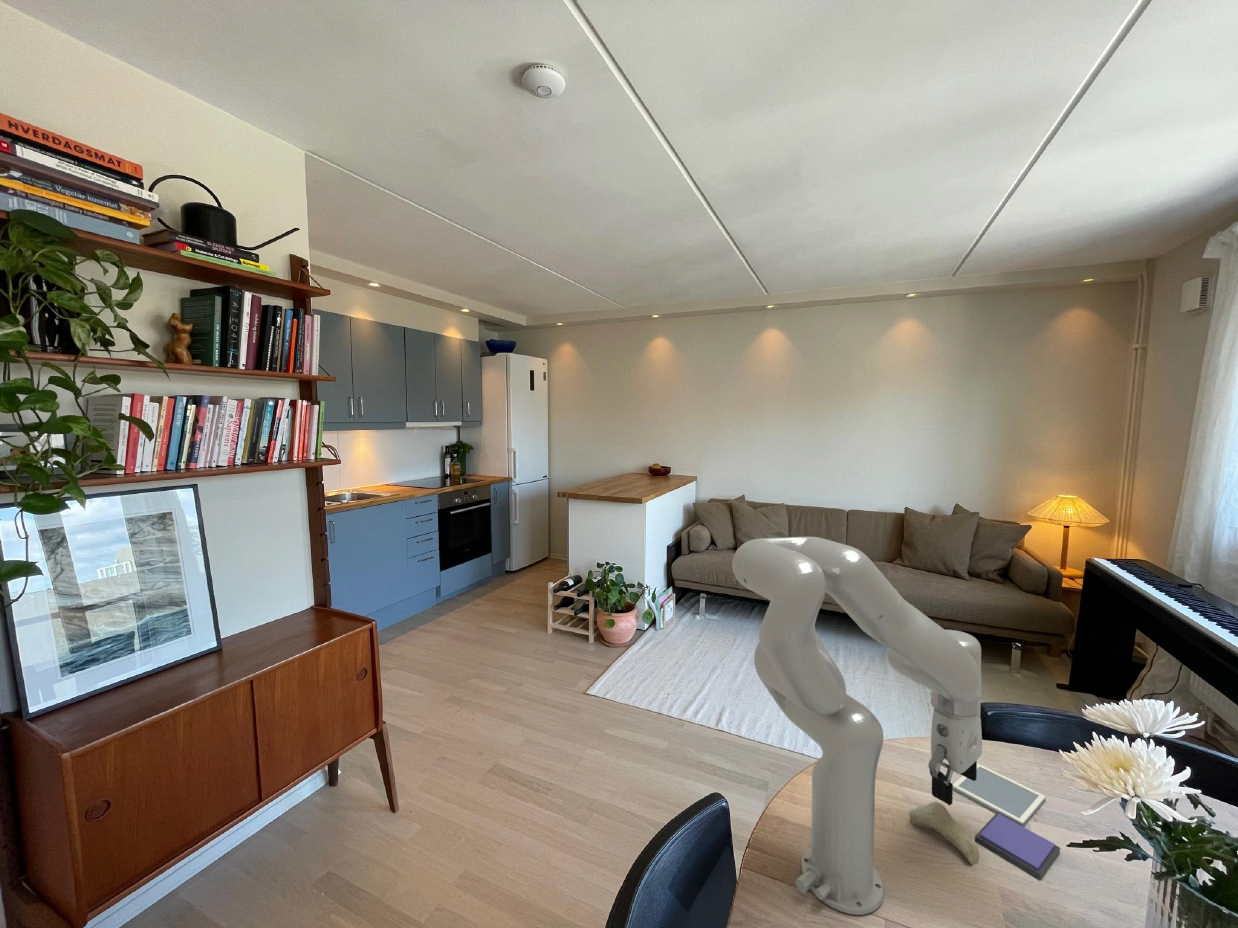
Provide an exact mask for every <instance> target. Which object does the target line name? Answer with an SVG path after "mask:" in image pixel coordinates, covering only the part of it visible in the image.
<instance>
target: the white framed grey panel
mask: <svg viewBox="0 0 1238 928" xmlns="http://www.w3.org/2000/svg"><path fill="white" fill-rule="evenodd" d="M952 784H953V792H955V793H957V794H959V795H962V796H963V797H965V798H966V799H968V800H970V801H972V802H974V803H976V804H978V805H979V806H982V807H983V808H985V809H987V810H988V811H990V812H992V813H994V814H996V813H997V814H1000V815H1002V816H1004V817H1006V818H1008V819H1009V820H1011V821H1013V822H1015V823H1017V824H1019V825H1020V826H1022V827H1024V828H1025V826H1026V825H1027V823H1028V822H1029V821H1030V820H1031V819H1032V817H1033V816H1034V815H1035V814H1036V813H1037V811H1038V810H1039V809H1040V808H1041V807H1042V806H1043V804H1045V802H1046V795H1044V794H1042V793H1040V792H1038V791H1036V790H1034V789H1031V787H1030V788H1029V787H1027V786H1025V785H1024V784H1021V783H1019V782H1017V781H1015V780H1014V779H1011V778H1009V777H1007V776H1005V775H1003V774H1001V773H999V772H996V771H994V770H993V769H990V768H989V767H986V766H984V765H982V764H980V763H978V762H977V779H976V780H975V781H973V780H970V779H969V778H967V777H965V776H963V775H961V777H959V778H958V779H957V780H956V781H955V782H954V783H952Z"/></svg>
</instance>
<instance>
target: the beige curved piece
mask: <svg viewBox="0 0 1238 928" xmlns="http://www.w3.org/2000/svg"><path fill="white" fill-rule="evenodd" d="M908 815H909V820H910V822H911V824H912V825H914V826H916V827H918V828H921V829H925V828H929V829H932V830H933V831H936V832H938V833H939V834H940V835H942V836H943V837H944V838H945V839H946V840H947V841H949V842H950V843H951V844H952V845H954V846H955V847H956V848H957V849H958V850H959V851H960V852H961V853H962V855H963V856H964V857H965V858H966V860H967V861H968V862H969V864H970V865H972V866H974V865H977V864H979V860H980V850H979V848H978V846H977V845H975V843H974V842H973V841H972V840H971V839H970V838H969V836H968V835H967V834H966V832H965V831H963V829H962V828H961V827H960V825H959V824H958V823H957V821H955V819H954V818H953V817H952V815H951V814H950V813H949V811H948V809H947V808H946V807H945V806H944V805H943V804H942V803H941V802H939V801H937V800H935V801H931V802H930V803H927V804H925V805H920V806H918V807H916V808H915V809H910V810H909V814H908Z"/></svg>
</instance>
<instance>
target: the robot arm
mask: <svg viewBox="0 0 1238 928" xmlns="http://www.w3.org/2000/svg"><path fill="white" fill-rule="evenodd" d="M731 567H732V571H733V575H734V577H735V579H736V580H737V581H738V583H739V584H741V586H743V587H744V588H746V589H748V590H749V591H752V592H754V593H756V594H757V595H759V596H761V597H763V598H765V599H767V600H769V604H768V606H767V609H766V611H765V614H764V617H763V620H762V622H761V626H760V628H759V634H758V639H759V641H758V643H757V645H756V647H755V650H754V655H753V656H754V658H753V659H754V660H753V661H754V667H755V671H756V674H757V676H758V678H759V679H760V681H761V683H763V686H764V687H765V688H766V690H767V691H768V693H769V694H770V696H771V697H772V699H773V700H774V702H775V703H776V704H777V706H778V707H779V708H780V710H781V712H782V713H783V714H784V715H785V716H786V717H787V719H788V720H789V721H790V722H791V723H792V724H794V725H795V726H796V727H797V728H799V729H800V730H801V731H802V732H803V733H804V734H806V735H807V736H808V737H809V738H810V739H811V740H812V741H814V742H815V743H816V744H817V745H818V746H819V747H820V749H821V752H822V755H821V757H820V758H819V759H817V761H816V762H815V764H813V768H812V773H811V836H810V838H811V841H810V842H811V843H810V846H809V847H807V848H806V850H805V851H804V852H803V854H802V856H801V862H800V863H801V873H802V874H801V875H799V877H798V878H796V879H795V881H794V882H795V886H796V888H797V890H798V891H799V892H800V893H801V894H803V895H804V894H806V893H807V892H808V891H811V892H812V894H814V896H816V897H817V899H819V900H820V901H821V902H823V903H824V904H826V905H827V906H829V907H830V908H832V909H834V910H837V911H839V912H842V913H846V914H848V915H849V914H850V915H855V916H856V915H859V916H860V915H863V916H864V915H867V914H870V913H872V912H875V911H876V910H877V909H879V907H880V906H881V904H882V902H883V901H884V900H883V899H884V884H883V879H882V877H881V875H880V873H879V871H878V870H877V868H876V867H875V866H874V854H875V853H874V851H875V848H874V847H875V843H874V841H875V806H876V803H875V802H876V801H875V797H876V796H875V795H876V792H875V791H876V777H877V769H878V765H879V759H880V757H881V753H882V748H883V745H884V731H883V727H882V725H881V722H880V721H879V720H878V718H877V716H876V715H875V714H874V713H873V712H872V711H871V710H870V709H869V708H868V707H866V706H865V705H864V704H863V703H861V702H860V701H859V700H856V699H855V698H854V697H852V696H850V695H849V694H847V686H846V682H845V679H844V676H843V674H842V672H841V670H840V669H839V667H838V665H837V664H836V662H835V661H834V659H833V658H832V656H831V654H830V653H829V651H828V650H827V648H826V647H825V645H824V643H823V642H822V640H821V638H820V637H819V634H818V633H817V631H816V622H817V617H818V614H819V611H820V609H821V606H822V604H823V601H824V599H825V595H826V593H827V594H828V595H829V596H830V597H832V598H833V600H835V602H836V603H837V604H838V606H840V608H842V610H844V611H845V612H846V614H847V615H848V616H849V617H850V619H852V620H853V621H854V623H856V624H857V626H858V627H859V628H860V629H861V630H862V632H864V633H865V634H866V635H868V636H869V637H871V638H872V639H873V640H875V641H876V642H878V643H879V644H881V645H883V646H884V647H886V648H887V651H886V659H887V661H888V663H889V665H890V667H892V669H893V670H894V671H895V672H897V673H899V674H900V675H902V676H904V677H905V678H906V679H909V680H910V681H913V682H915V683H917V684H919V685H921V686H922V687H925V688H927V689H929V690H930V704H931V706H932V708H933V712H932V720H931V732H930V755H931V756H930V760H929V762H928V765H927V766H928V769H929V775H930V777H931V795H932V796H933V797H934V798H936V799H938V800H939V801H941V802H943V803H945V804H947V805H948V806H951V805H952V804H954V803H953V798H954V797H953V796H954V795H953V793H954V790H953V784H954V783H952V782H951V781H952V776H953V775H954V772H955V774H959V775H961V776H965V777H967V778H969V779H970V780H973V781H975V780H976V779H977V763H978V761H977V760H979V759H980V757H981V756H982V753H983V737H982V719H981V704H982V703H981V702H982V701H981V700H982V699H981V696H982V695H981V694H982V693H981V692H982V691H981V689H982V681H983V680H982V647H981V646H982V645H981V643H980V642H979V641H978V639H977V638H976V637H975V636H973V635H971V634H969V633H967V632H963V631H961V630H954V629H945V628H943V627H942V626H940V625H939V624H938V623H936V622H935V621H933V619H931V618H930V617H928V616H927V615H926V614H924V613H923V612H922V611H920V610H919V609H918V608H916V607H915V606H914V605H912V604H911V603H909V602H908V601H907V600H905V599H904V598H903V596H902V595H901V594H900V593H899V592H898V590H897V589H896V588H895V587H894V586H893V585H892V584H891V583H890V581H889V580H888V579H887V578H886V576H885V575H884V574H883V573H882V572H881V570H879V568H878V567H877V566H876V564H874V562H873V561H872V560H871V558H869V557H868V555H866V554H865V552H862V551H861V550H860V549H858V548H856V547H853V546H851V545H848V544H844V543H840V542H837V541H833V540H831V539H830V540H829V539H827V538H822V537H819V536H789V537H787V536H786V537H785V536H784V537H768V538H766V537H762V538H753V539H750V540H747V541H746V542H744V543H743V544H741V545H740V546H739V547H738V548H737V550H736V551H735V553H734V555H733V557H732V561H731ZM944 760H946V761H947V763H946V762H944ZM941 767H943V768H946V773H944V772H942V771H941Z"/></svg>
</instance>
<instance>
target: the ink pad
mask: <svg viewBox="0 0 1238 928" xmlns="http://www.w3.org/2000/svg"><path fill="white" fill-rule="evenodd" d="M974 842H975V843H977V844H979V845H981V846H983V847H984V848H986V849H987V850H989V851H991V852H992V853H994V854H996V855H998V856H999V857H1001V858H1003V859H1004V860H1005V861H1007V862H1009V863H1011V864H1012V865H1014V866H1015V867H1017V868H1019V869H1021V870H1023V871H1024V872H1026V873H1027V874H1029V875H1031V876H1032V877H1034V878H1036V879H1037V880H1039V881H1041V880H1042V879H1043V878H1044V876H1045V874H1046V873H1047V872H1048V870H1049V869H1050V867H1051V866H1052V865H1053V863H1054V862H1055V860H1056V859H1057V857H1058V856H1059V855H1060V853H1061V847H1060V846H1058V845H1056V844H1055V843H1053V842H1052V841H1050V840H1048V839H1046V838H1044V837H1043V836H1041V835H1039V834H1037V833H1035V832H1034V831H1031V830H1029V829H1028V828H1026V827H1025V826H1024V827H1022V826H1020V825H1019V824H1017V823H1015V822H1013V821H1011V820H1009V819H1008V818H1006V817H1004V816H1002V815H1000V814H997V813H994V815H993V816H992V817H991V818H990V820H989V821H987V823H986V824H985V825H984V826H983V827H982V828H981V829H980V830H979V831H978V832H977V833H976V834H975V835H974Z"/></svg>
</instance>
